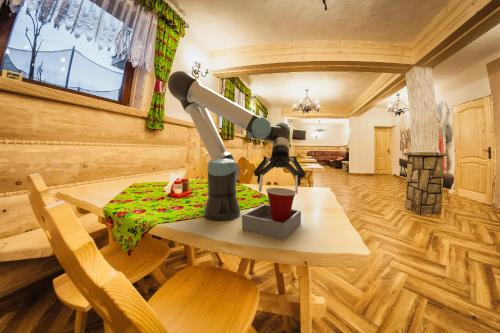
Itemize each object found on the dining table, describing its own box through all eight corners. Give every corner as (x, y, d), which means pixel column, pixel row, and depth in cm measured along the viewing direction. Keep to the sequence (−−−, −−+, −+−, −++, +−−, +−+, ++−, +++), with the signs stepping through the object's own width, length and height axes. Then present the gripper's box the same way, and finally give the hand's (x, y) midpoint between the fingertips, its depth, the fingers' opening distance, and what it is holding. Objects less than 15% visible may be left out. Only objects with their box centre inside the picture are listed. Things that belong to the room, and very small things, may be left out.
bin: (242, 229, 64) (241, 214, 64) (263, 216, 78) (263, 204, 77) (284, 240, 56) (284, 224, 56) (300, 223, 69) (301, 210, 69)
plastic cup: (298, 228, 62) (298, 193, 61) (265, 227, 63) (264, 192, 63) (295, 217, 72) (295, 187, 71) (267, 216, 74) (267, 186, 73)
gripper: (308, 156, 83) (311, 197, 71) (254, 155, 89) (247, 194, 76) (310, 143, 78) (313, 187, 65) (251, 144, 83) (243, 184, 70)
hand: (277, 191), depth 70 cm, fingers open, 13 cm apart
